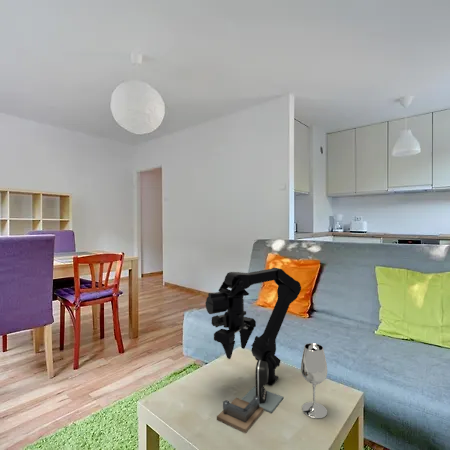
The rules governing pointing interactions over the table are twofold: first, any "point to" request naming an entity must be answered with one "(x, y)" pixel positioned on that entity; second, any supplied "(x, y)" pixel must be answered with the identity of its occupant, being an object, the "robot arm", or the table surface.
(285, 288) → the robot arm
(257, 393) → the battery charger
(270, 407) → the end mat
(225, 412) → the bent rail
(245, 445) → the table surface
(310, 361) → the wineglass
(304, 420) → the table surface
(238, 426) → the rail board
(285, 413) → the table surface
